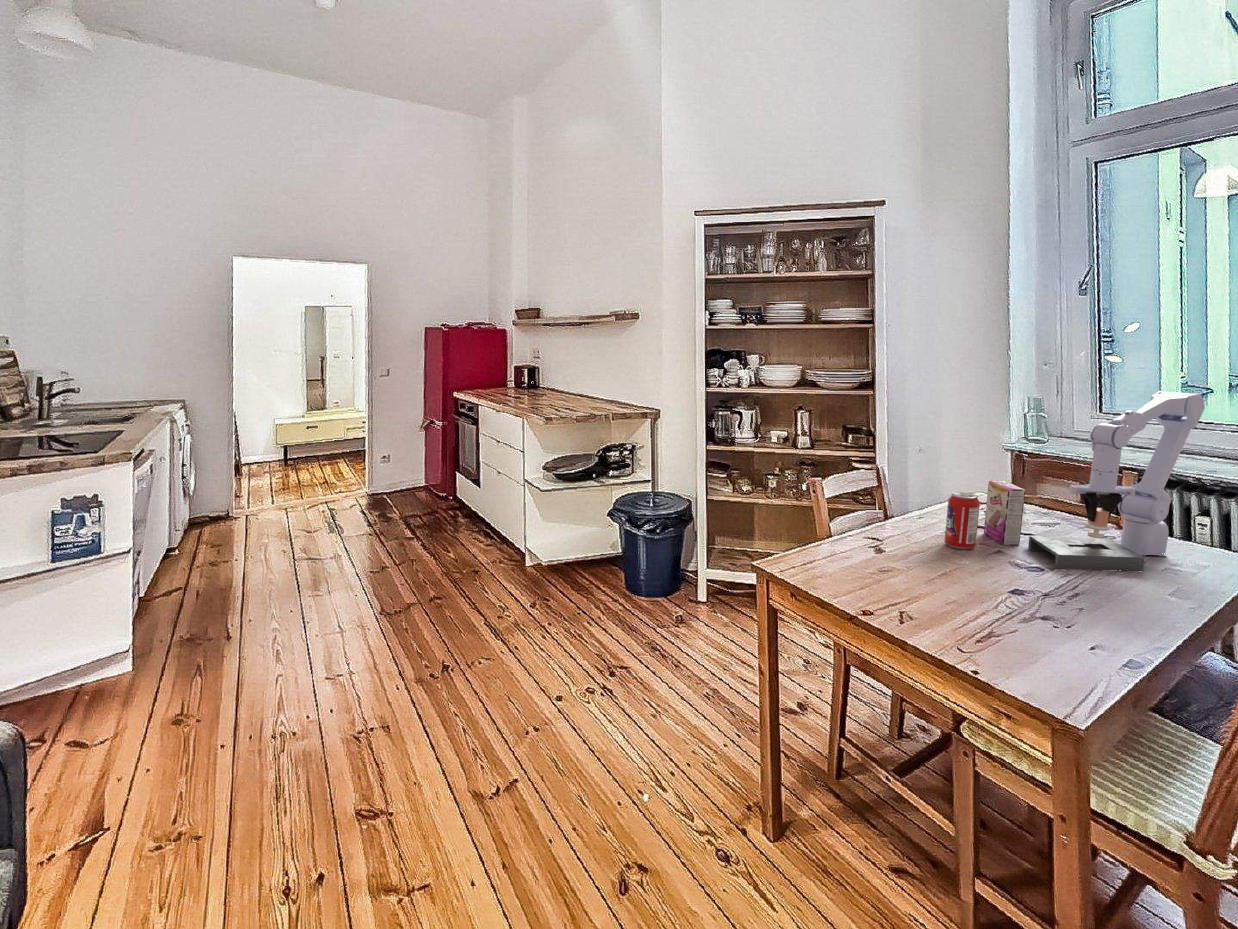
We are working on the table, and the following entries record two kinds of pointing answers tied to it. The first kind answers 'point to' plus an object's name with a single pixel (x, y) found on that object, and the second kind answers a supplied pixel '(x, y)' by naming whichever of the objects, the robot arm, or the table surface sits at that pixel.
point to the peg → (1098, 524)
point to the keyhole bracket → (1088, 553)
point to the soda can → (962, 520)
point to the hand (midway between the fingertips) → (1097, 521)
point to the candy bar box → (1004, 512)
